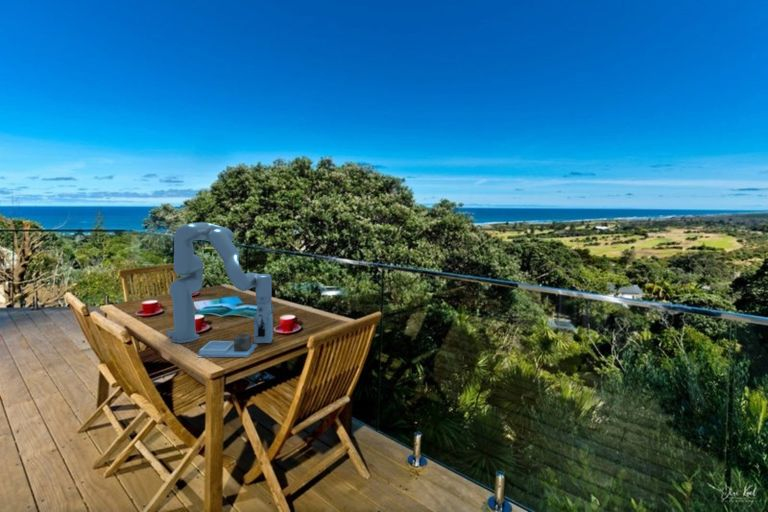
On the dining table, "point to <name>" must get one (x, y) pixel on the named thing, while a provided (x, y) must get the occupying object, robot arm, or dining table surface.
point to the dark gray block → (242, 342)
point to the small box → (268, 331)
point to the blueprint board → (224, 349)
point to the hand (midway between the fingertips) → (263, 333)
